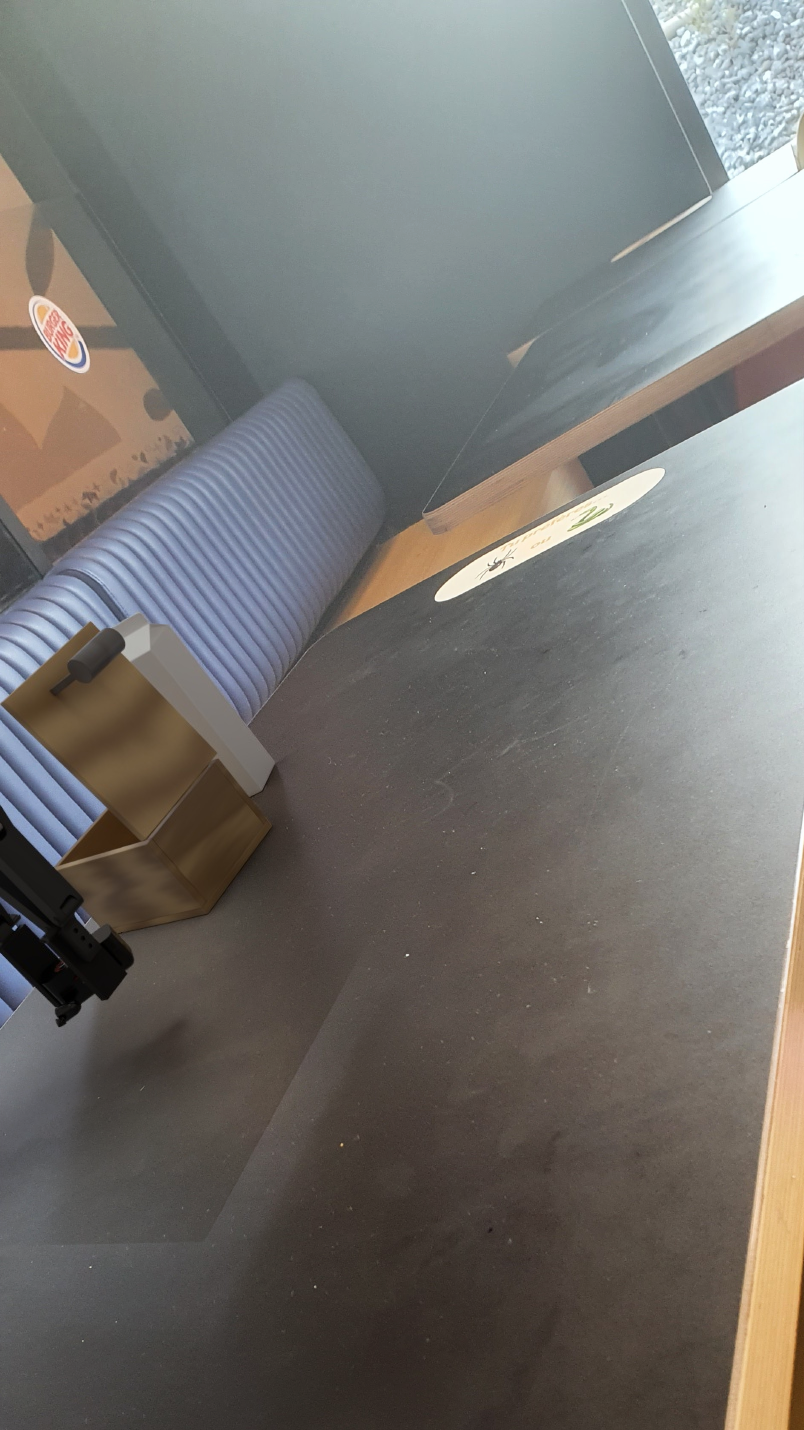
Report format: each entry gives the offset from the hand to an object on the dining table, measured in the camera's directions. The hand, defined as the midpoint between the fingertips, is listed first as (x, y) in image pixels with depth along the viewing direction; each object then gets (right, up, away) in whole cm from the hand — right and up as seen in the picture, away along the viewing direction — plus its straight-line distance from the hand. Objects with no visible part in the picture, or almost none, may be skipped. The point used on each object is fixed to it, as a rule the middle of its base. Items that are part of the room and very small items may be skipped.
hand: (90, 990), depth 89 cm
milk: (+4, +18, +39) cm, 43 cm away
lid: (-3, +22, +15) cm, 26 cm away
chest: (+1, +8, +26) cm, 28 cm away
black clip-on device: (+1, 0, 0) cm, 1 cm away
